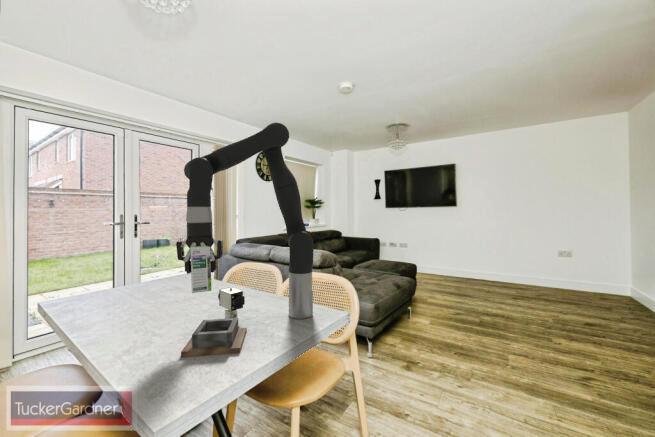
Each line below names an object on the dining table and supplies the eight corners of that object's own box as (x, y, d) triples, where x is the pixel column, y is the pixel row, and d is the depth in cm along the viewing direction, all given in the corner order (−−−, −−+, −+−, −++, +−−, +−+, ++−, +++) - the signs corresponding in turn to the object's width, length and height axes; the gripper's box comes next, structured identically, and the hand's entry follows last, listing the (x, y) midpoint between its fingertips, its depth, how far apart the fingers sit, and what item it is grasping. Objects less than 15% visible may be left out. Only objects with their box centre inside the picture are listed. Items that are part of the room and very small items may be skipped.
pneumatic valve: (233, 324, 99) (233, 291, 99) (217, 316, 107) (217, 286, 106) (247, 320, 103) (247, 288, 103) (230, 312, 111) (230, 283, 111)
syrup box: (191, 293, 85) (190, 247, 85) (191, 289, 91) (190, 245, 90) (211, 291, 88) (210, 245, 87) (210, 286, 93) (209, 243, 93)
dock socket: (246, 332, 93) (246, 315, 93) (240, 352, 79) (240, 334, 79) (196, 335, 91) (196, 318, 91) (180, 357, 77) (180, 337, 77)
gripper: (225, 220, 93) (226, 269, 94) (180, 221, 91) (181, 271, 92) (220, 221, 86) (221, 274, 86) (170, 222, 84) (172, 276, 84)
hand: (201, 272), depth 89 cm, fingers closed on syrup box, 6 cm apart
